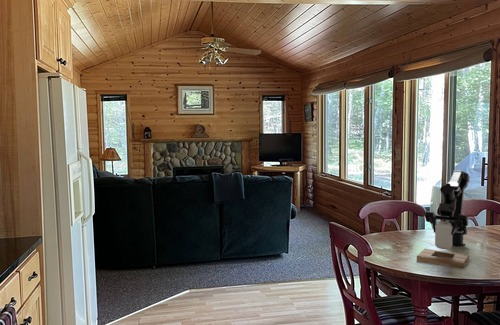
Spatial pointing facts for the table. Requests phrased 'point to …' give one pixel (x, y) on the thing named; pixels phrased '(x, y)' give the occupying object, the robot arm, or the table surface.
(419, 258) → the pocket board
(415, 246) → the table surface
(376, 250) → the table surface
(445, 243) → the can
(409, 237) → the table surface
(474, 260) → the table surface
